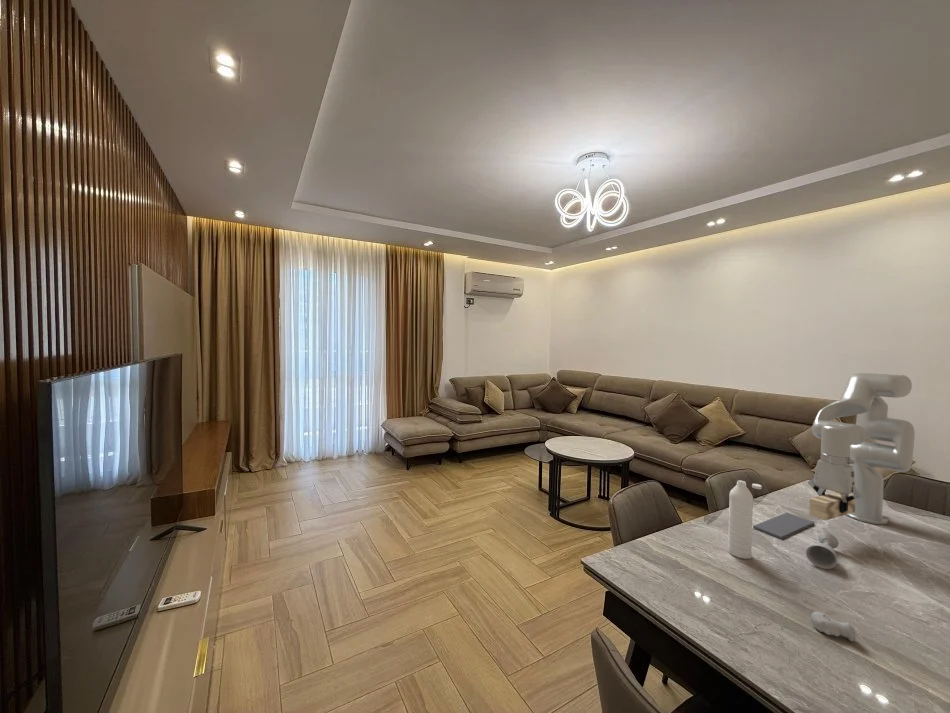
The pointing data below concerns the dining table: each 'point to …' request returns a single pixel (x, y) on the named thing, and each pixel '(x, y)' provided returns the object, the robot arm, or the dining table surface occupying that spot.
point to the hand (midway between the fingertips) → (832, 508)
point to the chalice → (823, 551)
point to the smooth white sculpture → (832, 626)
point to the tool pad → (783, 525)
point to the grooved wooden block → (829, 506)
